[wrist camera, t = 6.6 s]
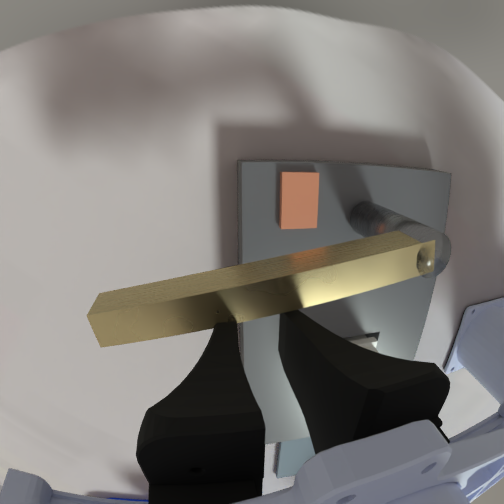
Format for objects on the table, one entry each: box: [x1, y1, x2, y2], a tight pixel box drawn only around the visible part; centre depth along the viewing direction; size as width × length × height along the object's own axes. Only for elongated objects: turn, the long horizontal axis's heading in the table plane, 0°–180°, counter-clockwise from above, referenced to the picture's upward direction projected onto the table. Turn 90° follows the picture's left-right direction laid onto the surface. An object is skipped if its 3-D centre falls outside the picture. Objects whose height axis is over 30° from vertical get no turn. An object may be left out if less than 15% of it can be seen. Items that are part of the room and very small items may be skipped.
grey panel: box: [237, 160, 451, 444], centre depth 21 cm, size 14×22×2 cm, turn 0°
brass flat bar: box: [87, 201, 451, 347], centre depth 14 cm, size 2×14×6 cm, turn 99°
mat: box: [276, 437, 315, 478], centre depth 27 cm, size 9×9×1 cm
